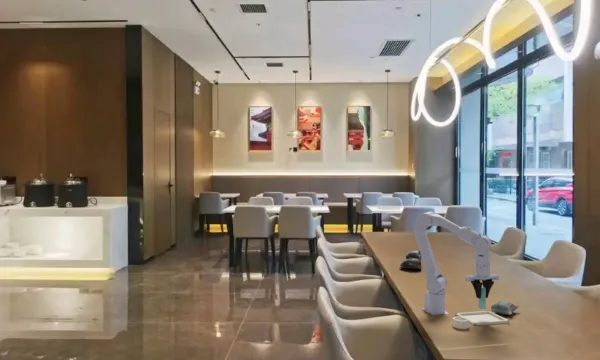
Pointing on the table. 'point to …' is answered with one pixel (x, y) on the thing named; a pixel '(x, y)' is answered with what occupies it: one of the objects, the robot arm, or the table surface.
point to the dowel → (482, 299)
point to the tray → (483, 318)
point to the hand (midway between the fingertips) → (482, 297)
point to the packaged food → (504, 307)
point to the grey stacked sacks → (412, 261)
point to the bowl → (460, 322)
